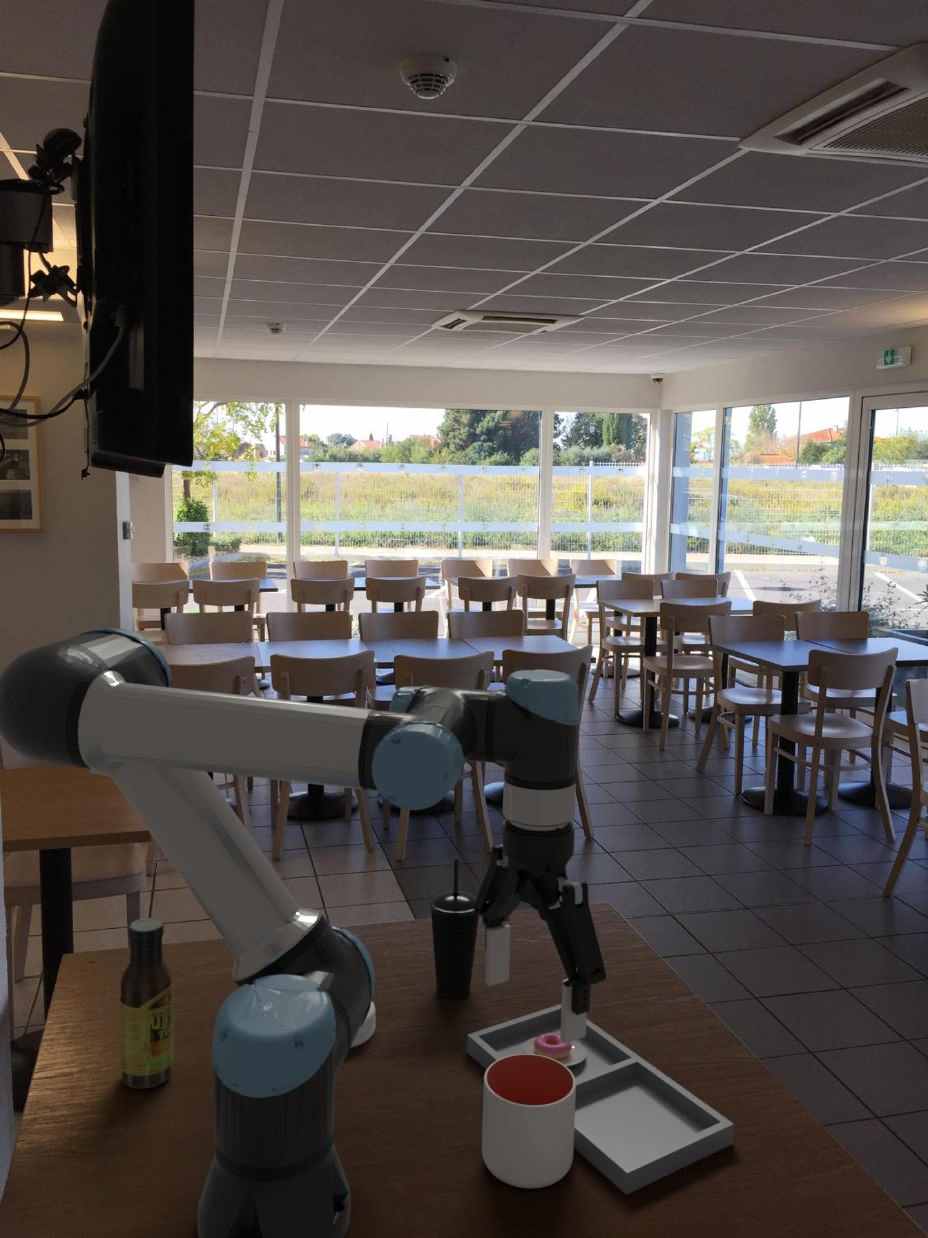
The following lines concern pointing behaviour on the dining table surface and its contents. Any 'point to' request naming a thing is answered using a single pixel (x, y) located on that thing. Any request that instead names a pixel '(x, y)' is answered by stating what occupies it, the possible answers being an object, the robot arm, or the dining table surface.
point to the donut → (555, 1049)
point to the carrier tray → (619, 1104)
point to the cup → (528, 1120)
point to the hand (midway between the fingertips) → (533, 1009)
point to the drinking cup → (454, 939)
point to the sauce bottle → (146, 1009)
